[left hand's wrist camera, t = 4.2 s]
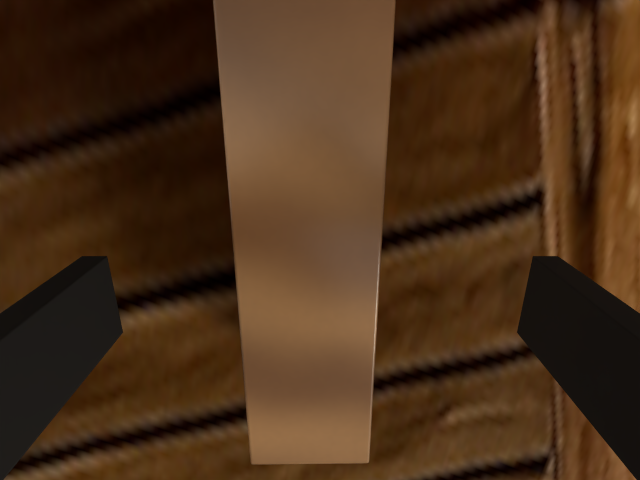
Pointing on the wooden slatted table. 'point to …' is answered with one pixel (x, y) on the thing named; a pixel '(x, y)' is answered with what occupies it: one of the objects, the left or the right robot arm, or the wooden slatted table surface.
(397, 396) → the wooden slatted table surface
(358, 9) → the bar
